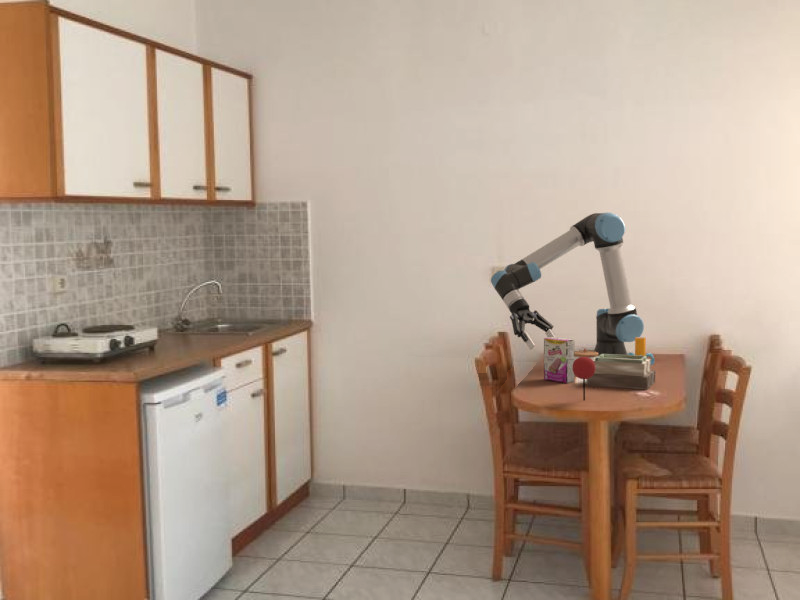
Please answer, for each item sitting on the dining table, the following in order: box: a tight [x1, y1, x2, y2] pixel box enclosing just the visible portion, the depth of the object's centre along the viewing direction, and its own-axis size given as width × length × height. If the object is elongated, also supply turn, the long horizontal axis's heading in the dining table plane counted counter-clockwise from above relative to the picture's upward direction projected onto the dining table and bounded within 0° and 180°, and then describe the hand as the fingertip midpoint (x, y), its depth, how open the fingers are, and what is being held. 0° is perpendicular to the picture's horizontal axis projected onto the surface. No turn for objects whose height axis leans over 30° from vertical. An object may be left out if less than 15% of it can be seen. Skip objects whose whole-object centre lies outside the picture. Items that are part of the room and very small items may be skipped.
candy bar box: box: [543, 336, 575, 384], centre depth 350 cm, size 11×5×16 cm, turn 44°
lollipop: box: [572, 357, 595, 401], centre depth 314 cm, size 8×8×15 cm
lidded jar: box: [574, 348, 599, 361], centre depth 371 cm, size 11×11×9 cm
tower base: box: [586, 354, 656, 391], centre depth 343 cm, size 16×22×10 cm
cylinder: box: [627, 336, 655, 366], centre depth 360 cm, size 12×10×15 cm
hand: (544, 345), depth 354 cm, fingers open, 13 cm apart
